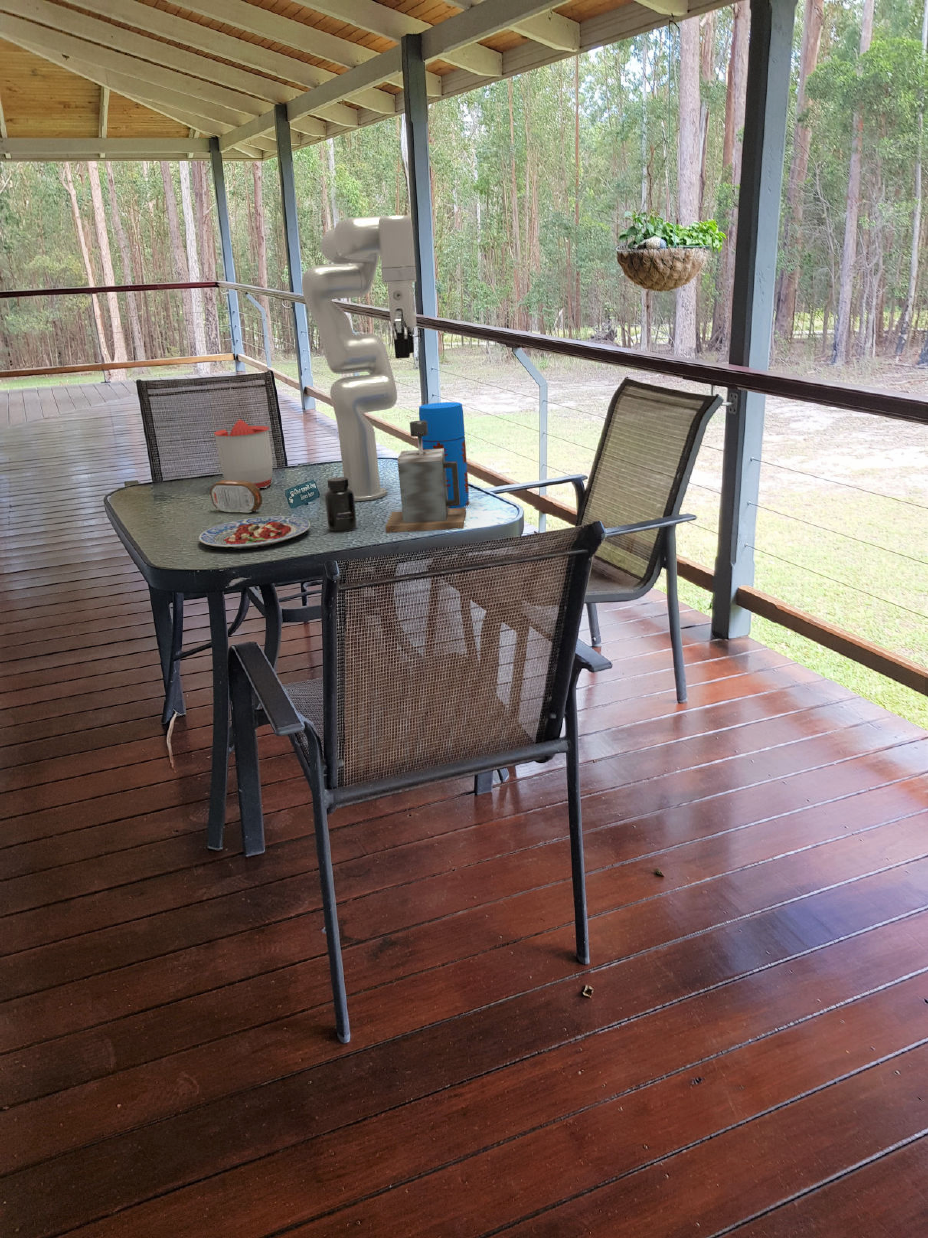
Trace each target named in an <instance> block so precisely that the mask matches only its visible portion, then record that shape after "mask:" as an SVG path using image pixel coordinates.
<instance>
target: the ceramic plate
mask: <svg viewBox="0 0 928 1238" xmlns="http://www.w3.org/2000/svg"><path fill="white" fill-rule="evenodd" d="M310 528H311V522H310V521H308V520H307V519H305V518H301V517H296V516H284V515H283V516H280V515H278V516H277V515H276V516H274V515H273V516H261V517H251V518H245V519H239V520H234V521H230V522H226V523H222V524H219V525H215V526H212V527H210V528H208V529H206V530H204V531H203V532H202V533H200V535H199V536H198V539H199V542H201V543H202V544H204V545H207V546H213V547H220V548H221V547H222V548H223V547H225V548H228V547H254V548H257V547H256V546H262V547H264V546H263V545H267V546H270V545H269V544H272V545H276V544H278V542H279V543H282V542H284V541H286V540H288V539H291V538H295V537H297V536H299V535H301V534H303V533H305V532H307V531H308V530H309V529H310ZM230 531H236V533H233V535H232V536H230V537H227V538H226V539H225V540H223V541H226V544H224V543H218V542H216V540H215V538H217V537H218V536H219V535H220V534H225V533H227V532H230ZM281 541H282V542H281ZM275 543H276V544H275Z"/></svg>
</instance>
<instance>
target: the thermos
mask: <svg viewBox="0 0 928 1238" xmlns="http://www.w3.org/2000/svg"><path fill="white" fill-rule="evenodd" d="M463 409H464V408H463V404H462V403H461V402H457V401H455V402H454V401H449V402H448V401H446V402H445V401H443V402H432V403H426V404H423V405H420V406H418V417H419V420H418V421H421V420H424V421H427V426H428V435H426V436H422V445H423V450H427V449H443V448H444V455H445V462H451V461H452V462H456V461H457V469H458V482H459V496H460V505H459V506H449V509H450V508H462V507H463V508H465V507H467V506H468V505H470V503H469V502H470V500H469V496H470V495H469V494H470V493H469V492H470V491H469V490H470V489H469V478H468V477H469V476H468V463H467V462H468V461H467V447H466V445H467V444H466V436H465V435H466V434H465V433H466V432H465V421H464V417H465V416H464V410H463ZM446 481H447V494H448V500H453V499H454V492H453V479H452V468H446ZM466 505H467V506H466ZM464 506H465V507H464Z"/></svg>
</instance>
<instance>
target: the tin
mask: <svg viewBox="0 0 928 1238" xmlns="http://www.w3.org/2000/svg"><path fill="white" fill-rule="evenodd" d="M209 493H210V494H209V495H210V498H211V502H212V504H213V506H214V507H215V508H216V509H217V508H225V509H229V510H230V509H231V510H238V511H254V512H257V511H258V510H259V509H260V508H261V506H262V504H263V496H262V493H261V491H260V489H258V488H257V486H256V485H254V484H253V483H252V482H249V481H236V480H225V479H222V480H219V481H218V482H216V483H214V484H213V485H212V486H211V488H210V492H209ZM256 510H257V511H256Z"/></svg>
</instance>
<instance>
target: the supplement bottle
mask: <svg viewBox="0 0 928 1238" xmlns="http://www.w3.org/2000/svg"><path fill="white" fill-rule="evenodd" d="M348 486H349V483H348V478H345V477H344V476H343V477H341V476H339V477H332V478H331V477H330V478H329V479H327V488H328V489H329V490H327V491H326V492H325V493H324V499H325V502H324V503H325V511H326V518H327V519H326V520H327V528H328V530H329V531H330V532H333V533H344V532H350V531H353V530H356V528H357V526H358V525H357V524H358V523H357V514H356V501H354V493H353V491H352V490H351V489H349V488H348Z"/></svg>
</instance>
